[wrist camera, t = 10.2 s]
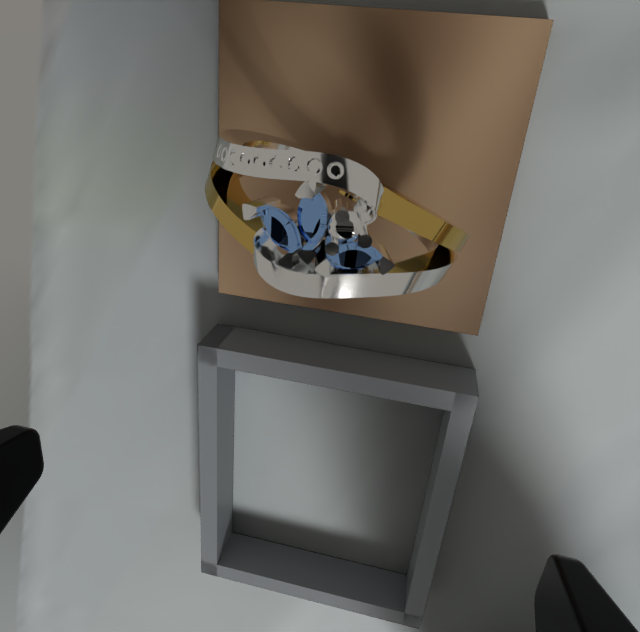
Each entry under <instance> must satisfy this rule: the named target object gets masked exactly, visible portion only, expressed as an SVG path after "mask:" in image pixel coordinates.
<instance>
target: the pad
mask: <svg viewBox="0 0 640 632" xmlns="http://www.w3.org/2000/svg"><path fill="white" fill-rule="evenodd" d="M552 24H553V20H551V19H536V18H521V17H506V16H491V15H476V14H461V13H446V12H432V11H417V10H402V9H387V8H372V7H357V6H342V5H327V4H312V3H297V2H283V1H268V0H219V138H220V135H221V133H222V132H223V131H226V130H230V129H240V130H248V131H254V132H259V133H263V134H267V135H271V136H275V137H278V138H282V139H285V140H288V141H291V142H294V143H297V144H300V145H303V146H305V147H308V148H311V149H313V150H316V151H318V152H321V153H327V154H332V155H337V156H340V157H344V158H347V159H350V160H352V161H355V162H357V163H359V164H361V165H363V166H364V167H366V168H367V169H369V170H370V171H371V172H373V173H374V174H375V175H376V176H377V177H378V179H379V180H380V182H382V183H384V184H386V185H388V186H390V187H391V188H393V189H395V190H397V191H399V192H400V193H402V194H404V195H406V196H408V197H409V198H411V199H413V200H415V201H416V202H418V203H420V204H421V205H423V206H425V207H427V208H428V209H430V210H432V211H433V212H435V213H437V214H438V215H440V216H441V217H443V218H445V219H446V220H448V221H449V222H451V223H453V224H454V225H456V226H457V227H459V228H460V229H462V230H463V231H465V232H466V233H468V234H469V235H471V236H470V237H469V239H468V240H467V242H466V244H465V245H464V247H463V249H462V250H461V252H457V253H458V258H457V260H456V261H455V263H454V264H453V266H452V267H451V269H450V270H449V272H448V273H447V275H446V276H445V278H444V279H443V280H442V281H440V282H439V283H438V284H436V285H434V286H432V287H430V288H427V289H425V290H422V291H418V292H414V293H409V294H402V295H394V296H382V297H362V298H308V297H301V296H295V295H291V294H288V293H285V292H282V291H280V290H278V289H276V288H274V287H273V286H271V285H270V284H268V283H267V282H266V281H265V280H264V279H263V278H262V277H261V276H260V275H259V273H258V271H257V269H256V267H255V264H254V258H253V254H252V253H251V252H250V251H249V250H247V249H246V248H245V247H244V246H243V245H241V244H240V243H239V242H238V241H237V240H236V239H235V238H234V237H233V236H232V235H231V234H230V233H229V232H228V231H227V230H226V229H225V228H224V227H223V225H222V224H221V223H220V222H219V293H224V294H230V295H236V296H242V297H248V298H254V299H260V300H266V301H272V302H278V303H285V304H291V305H297V306H303V307H309V308H315V309H321V310H327V311H333V312H339V313H345V314H351V315H357V316H363V317H369V318H375V319H381V320H387V321H393V322H399V323H405V324H411V325H417V326H423V327H429V328H435V329H441V330H447V331H453V332H459V333H465V334H471V335H477V336H478V333H479V328H480V324H481V320H482V316H483V312H484V308H485V303H486V299H487V295H488V291H489V287H490V283H491V278H492V274H493V270H494V266H495V262H496V258H497V253H498V249H499V245H500V241H501V237H502V233H503V228H504V224H505V220H506V216H507V212H508V208H509V203H510V199H511V195H512V191H513V187H514V183H515V178H516V174H517V170H518V166H519V162H520V158H521V153H522V149H523V145H524V141H525V137H526V133H527V128H528V124H529V120H530V116H531V112H532V108H533V103H534V99H535V95H536V91H537V87H538V83H539V78H540V74H541V70H542V66H543V62H544V58H545V53H546V49H547V45H548V41H549V37H550V33H551V28H552ZM239 180H240V184H241V186H242V189H243V190H244V192H245V194H246V195H247V196H248V198H249V199H250V200H251V201H254V200H257V199H260V198H264V197H267V196H271V197H275V198H278V199H281V202H280V203H281V204H284V205H286V206H288V207H290V208H292V209H293V210H294V211H295V212H296V213H297V212H298V206H299V203H300V201H301V199H302V198H300V199H299V198H298V197H296V196H295V193H296V192H297V190H298V189H299V187H300V186H301V185H302V184H292V183H280V182H271V181H264V180H259V179H254V178H250V177H247V176H242V177H241V178H239ZM324 191H325V193H326V194H327V196H328V198H329V200H330V203H331V207H332V209H334V203H335V201H336V200H337V199H338V198H344V199H345V200H346V201H347V204H348V206H351V205H353V204H355V203H357V202H355V201H353V200H351V199H349V198H347V197H345V196H344V195H342V194H341V193H339V192H338V189H336V188H331V187H326V189H325V190H324ZM368 227H369V231H370V234H371V238H372V243H373V242H374V241H375V240H376V241H378V242H379V243H381V244H382V245H384V246H385V247H386V249H387V251H388V253H389V255H390V257H391V259H392V260H395V259H403V258H410V257H415V256H419V255H423V254H426V253H428V250H427V248H426V247H425V246H424V244H423V243H422V242H421V241H420V240H419V239H418V238H417V237H415V236H414V235H413V234H412V233H411V232H410V231H408V230H407V229H405V228H403V227H401V226H399V225H396V224H394V223H392V222H389V221H387V220H384V219H381V218H379V217H376V219H375V220H374V221H373V222H372V223H370V224H368ZM324 238H325V237H324ZM277 249H278V251H279V252H280V253H281V254H283V255H284V256H285V254H286V253H287V252H289V251H287V250H284V249H282V248H280V247H279V246H277ZM311 262H314V259H313V260H312V261H311Z"/></svg>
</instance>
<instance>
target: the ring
mask: <svg viewBox="0 0 640 632" xmlns="http://www.w3.org/2000/svg"><path fill="white" fill-rule="evenodd" d="M242 176H247V177H250V178H254V179H259V180H264V181H271V182H280V183H292V184H302V185H301V186H300V187H299V189H298V190H297V192H296V193H295V196H296V197H298V198H299V199H300V198H302V199H301V201H300V203H299V206H298V212H297V213H296V212H295V211H294V210H293V209H292V208H290V207H288V206H286V205H284V204H281V203H280V202H281V199H278V198H275V197H271V196H267V197H264V198H260V199H257V200H254V201H251V200H250V199H249V198H248V196H247V195H246V194H245V192H244V190H243V189H242V186H241V184H240V180H239V178H241V177H242ZM326 187H331V188H336V189H338V192H339V193H341V194H342V195H344V196H345V197H347V198H349V199H351V200H353V201H355V202H357V203H355V204H353V205H351V206H348V204H347V201H346V200H345V199H344V198H338V199H337V200H336V201H335V203H334V209H332V207H331V203H330V200H329V198H328V196H327V194H326V193H325V191H324V190H325V189H326ZM205 194H206V198H207V201H208V204H209V206H210V208H211V210H212V212H213V213H214V215H215V216H216V218H217V219H218V220H219V222H220V223H221V224H222V225H223V227H224V228H225V229H226V230H227V231H228V232H229V233H230V234H231V235H232V236H233V237H234V238H235V239H236V240H237V241H238V242H239V243H240V244H241V245H243V246H244V247H245V248H246V249H247V250H249V251H250V252H251V253H252V254H253V258H254V264H255V267H256V269H257V271H258V273H259V275H260V276H261V277H262V278H263V279H264V280H265V281H266V282H267V283H268V284H270V285H271V286H273V287H274V288H276V289H278V290H280V291H282V292H285V293H288V294H291V295H295V296H301V297H308V298H362V297H382V296H394V295H402V294H409V293H414V292H418V291H422V290H425V289H427V288H430V287H432V286H434V285H436V284H438V283H439V282H440V281H442V280H443V279H444V278H445V276H446V275H447V273H448V272H449V270H450V269H451V267H452V266H453V264H454V263H455V261H456V260H457V258H458V253H457V252H461V250H462V249H463V247H464V245H465V244H466V242H467V240H468V239H469V237H470V236H471V235H469V234H468V233H466V232H465V231H463V230H462V229H460V228H459V227H457V226H456V225H454V224H453V223H451V222H449V221H448V220H446V219H445V218H443V217H441V216H440V215H438V214H437V213H435V212H433V211H432V210H430V209H428V208H427V207H425V206H423V205H421V204H420V203H418V202H416V201H415V200H413V199H411V198H409V197H408V196H406V195H404V194H402V193H400V192H399V191H397V190H395V189H393V188H391V187H390V186H388V185H386V184H384V183H382V182H380V180H379V179H378V177H377V176H376V175H375V174H374V173H373V172H371V171H370V170H369V169H367V168H366V167H364V166H363V165H361V164H359V163H357V162H355V161H352V160H350V159H347V158H344V157H340V156H337V155H332V154H327V153H321V152H318V151H316V150H313V149H311V148H308V147H305V146H303V145H300V144H297V143H294V142H291V141H288V140H285V139H282V138H278V137H275V136H271V135H267V134H263V133H259V132H254V131H248V130H240V129H230V130H226V131H223V132H222V133H221V135H220V138H219V141H218V144H217V147H216V149H215V152H214V155H213V162H212V165H211V168H210V171H209V174H208V177H207V180H206V184H205ZM376 217H379V218H381V219H384V220H387V221H389V222H392V223H394V224H396V225H399V226H401V227H403V228H405V229H407V230H408V231H410V232H411V233H412V234H413V235H414V236H415V237H417V238H418V239H419V240H420V241H421V242H422V243H423V244H424V246H425V247H426V248H427V250H428V253H426V254H423V255H419V256H415V257H410V258H403V259H395V260H392V259H391V257H390V255H389V253H388V251H387V249H386V247H385V246H384V245H382V244H381V243H379V242H378V241H376V240H375V241H374V242H373V243H372V238H371V234H370V231H369V227H368V224H370V223H372V222H373V221H374V220H375V219H376ZM324 237H325V238H324ZM277 246H279V247H280V248H282V249H284V250H287V251H289V252H287V253H286V254H285V256H284V255H283V254H281V253H280V252H279V251H278V249H277ZM313 259H314V262H311V261H312V260H313Z"/></svg>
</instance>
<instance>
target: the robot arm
mask: <svg viewBox="0 0 640 632" xmlns="http://www.w3.org/2000/svg"><path fill="white" fill-rule="evenodd" d="M43 468H44V461H43V455H42V449H41V442H40V436H39V434H38V432H37V431H36V430H34V429H32V428H28V427H23V426H19V425H13V426H9V427H6V428H3V429H0V534H1V532H2V531H3V529H4V528H5V527H6V525H7V524H8V522H9V521H10V520H11V518H12V517H13V515H14V514H15V512H16V511H17V510H18V508H19V507H20V505H21V504H22V503H23V501H24V500H25V498H26V497H27V496H28V494H29V493H30V491H31V490H32V489H33V487H34V486H35V484H36V483H37V481H38V480H39V478H40V477H41V475H42V472H43ZM534 607H535V624H536V632H638V631H637V629H636V628H635V627H634V626H633V624H632V623H631V622H630V621H629V620H628V618H627V617H626V616H625V615H624V613H623V612H622V611H621V610H620V608H619V607H618V606H617V605H616V604H615V602H614V601H613V600H612V599H611V597H610V596H609V595H608V594H607V593H606V591H605V590H604V589H603V588H602V586H601V585H600V584H599V583H598V581H597V580H596V579H595V578H594V577H593V575H592V574H591V573H590V572H589V570H588V569H587V568H586V567H585V566H584V564H583V563H581V562H580V561H579V560H577V559H573V558H569V557H565V556H560V555H551V556H550V557H549V559H548V561H547V563H546V566H545V568H544V571H543V573H542V576H541V579H540V581H539V584H538V586H537V589H536V593H535V602H534Z"/></svg>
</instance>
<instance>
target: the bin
mask: <svg viewBox="0 0 640 632" xmlns="http://www.w3.org/2000/svg"><path fill="white" fill-rule="evenodd" d="M197 358H198V411H199V464H200V517H201V570H202V573H206V574H210V575H214V576H218V577H222V578H225V579H229V580H233V581H237V582H241V583H245V584H248V585H252V586H256V587H260V588H264V589H268V590H271V591H275V592H279V593H283V594H287V595H291V596H294V597H298V598H302V599H306V600H310V601H314V602H317V603H321V604H325V605H329V606H333V607H337V608H340V609H344V610H348V611H352V612H356V613H360V614H363V615H367V616H371V617H375V618H379V619H383V620H386V621H390V622H394V623H398V624H402V625H406V626H409V627H413V628H417V629H420V625H421V621H422V617H423V613H424V610H425V606H426V602H427V598H428V594H429V590H430V586H431V582H432V578H433V574H434V570H435V566H436V563H437V559H438V555H439V551H440V547H441V543H442V539H443V535H444V531H445V527H446V523H447V520H448V516H449V512H450V508H451V504H452V500H453V496H454V492H455V488H456V484H457V480H458V476H459V473H460V469H461V465H462V461H463V457H464V453H465V449H466V445H467V441H468V437H469V433H470V430H471V426H472V422H473V418H474V414H475V410H476V406H477V402H478V398H479V394H478V387H477V379H476V371H475V369H471V368H465V367H459V366H454V365H448V364H442V363H437V362H431V361H425V360H420V359H414V358H408V357H403V356H397V355H391V354H386V353H380V352H374V351H369V350H363V349H357V348H352V347H346V346H340V345H335V344H329V343H323V342H318V341H312V340H306V339H301V338H295V337H289V336H284V335H278V334H272V333H267V332H261V331H255V330H250V329H244V328H238V327H233V326H227V325H221V324H217V325H216V326H215V327H214V328H213V329H212V330H211V331H210V332H209V333H208V334H207V335H206V336H205V337H204V338H203V339H202V341H201V342H200V343H199V344H198V345H197ZM235 370H237V371H243V372H248V373H253V374H258V375H264V376H269V377H274V378H279V379H285V380H290V381H295V382H300V383H306V384H311V385H316V386H321V387H327V388H332V389H337V390H342V391H347V392H353V393H358V394H363V395H368V396H374V397H379V398H384V399H389V400H395V401H400V402H405V403H410V404H416V405H421V406H426V407H431V408H437V409H442V410H444V414H443V418H442V423H441V427H440V432H439V436H438V440H437V445H436V449H435V454H434V458H433V463H432V467H431V472H430V476H429V481H428V485H427V489H426V494H425V498H424V503H423V507H422V512H421V516H420V521H419V525H418V530H417V534H416V538H415V543H414V547H413V552H412V556H411V561H410V565H409V570H408V574H407V575H404V574H400V573H396V572H392V571H387V570H383V569H379V568H375V567H371V566H367V565H363V564H359V563H355V562H351V561H347V560H343V559H338V558H334V557H330V556H326V555H322V554H318V553H314V552H310V551H306V550H302V549H298V548H294V547H290V546H285V545H281V544H277V543H273V542H269V541H265V540H261V539H257V538H253V537H249V536H245V535H241V534H236V533H232V519H233V459H234V398H235Z"/></svg>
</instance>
